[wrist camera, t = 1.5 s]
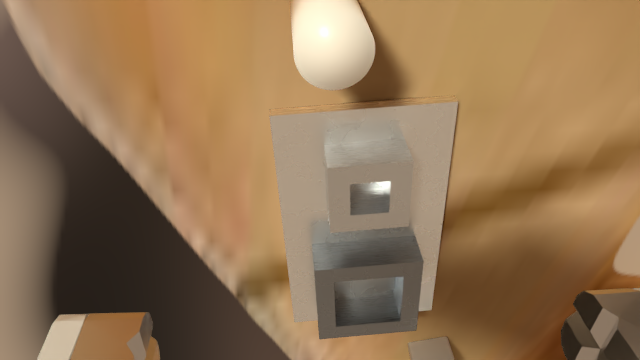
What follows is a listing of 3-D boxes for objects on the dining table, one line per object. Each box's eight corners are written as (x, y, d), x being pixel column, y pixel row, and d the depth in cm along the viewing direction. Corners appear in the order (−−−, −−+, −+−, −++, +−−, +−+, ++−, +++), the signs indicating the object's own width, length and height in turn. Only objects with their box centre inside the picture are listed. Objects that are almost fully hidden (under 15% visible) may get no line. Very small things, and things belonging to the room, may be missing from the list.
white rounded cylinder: (354, -34, 30) (376, 8, 23) (354, 32, 32) (374, 87, 26) (287, -29, 30) (290, 15, 23) (292, 37, 32) (296, 93, 26)
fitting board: (454, 95, 35) (471, 123, 32) (428, 301, 48) (439, 336, 45) (269, 109, 35) (269, 138, 32) (294, 313, 48) (295, 349, 45)
